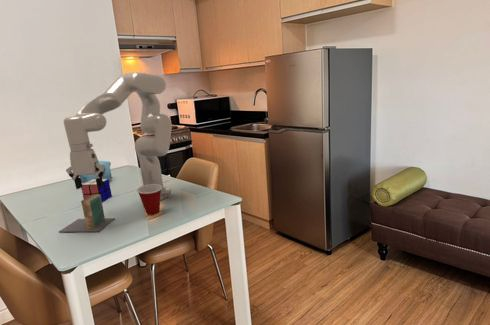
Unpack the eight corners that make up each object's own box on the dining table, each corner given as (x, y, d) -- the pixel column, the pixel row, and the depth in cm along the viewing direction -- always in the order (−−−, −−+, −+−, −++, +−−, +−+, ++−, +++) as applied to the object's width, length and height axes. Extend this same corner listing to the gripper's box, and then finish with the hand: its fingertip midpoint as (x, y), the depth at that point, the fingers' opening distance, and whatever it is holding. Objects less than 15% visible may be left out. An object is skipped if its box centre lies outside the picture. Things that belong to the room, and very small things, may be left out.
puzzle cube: (101, 203, 176) (97, 184, 174) (84, 203, 178) (80, 185, 176) (112, 196, 186) (109, 178, 183) (95, 196, 188) (92, 179, 185)
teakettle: (115, 177, 225) (111, 155, 222) (109, 185, 207) (104, 161, 204) (84, 181, 223) (80, 159, 219) (75, 190, 205) (70, 165, 201)
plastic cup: (148, 219, 148) (144, 193, 145) (136, 214, 156) (132, 189, 153) (170, 211, 155) (166, 185, 152) (157, 206, 163) (153, 182, 160)
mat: (115, 219, 152) (115, 218, 152) (98, 232, 140) (98, 231, 139) (78, 220, 155) (78, 218, 155) (58, 232, 143) (58, 231, 143)
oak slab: (105, 220, 150) (100, 194, 147) (94, 228, 143) (88, 200, 140) (98, 220, 151) (92, 194, 148) (86, 228, 143) (81, 201, 140)
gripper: (105, 143, 141) (113, 183, 145) (67, 146, 144) (77, 185, 149) (94, 148, 134) (103, 189, 138) (55, 151, 137) (65, 191, 141)
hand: (90, 187), depth 143 cm, fingers open, 9 cm apart
